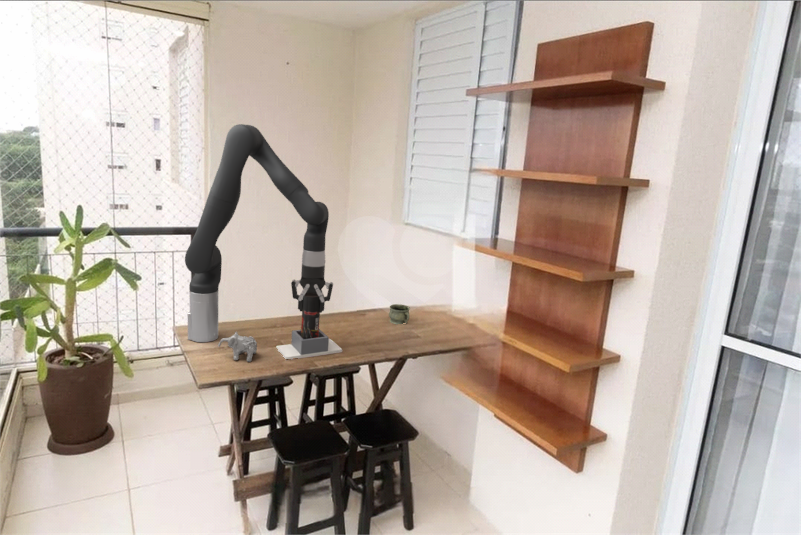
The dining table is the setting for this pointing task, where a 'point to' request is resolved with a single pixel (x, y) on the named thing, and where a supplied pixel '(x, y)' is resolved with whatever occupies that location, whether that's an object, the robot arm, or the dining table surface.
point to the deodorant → (310, 316)
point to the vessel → (399, 314)
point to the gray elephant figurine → (241, 345)
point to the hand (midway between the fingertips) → (311, 311)
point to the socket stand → (308, 346)
